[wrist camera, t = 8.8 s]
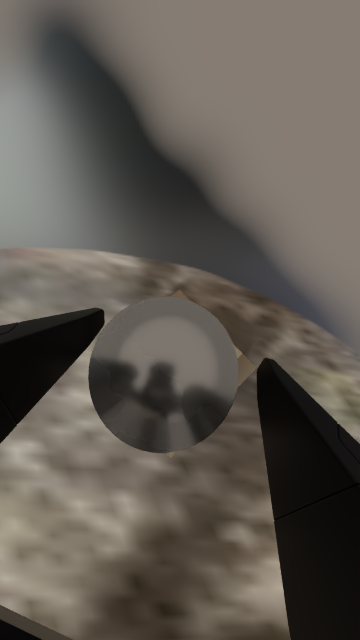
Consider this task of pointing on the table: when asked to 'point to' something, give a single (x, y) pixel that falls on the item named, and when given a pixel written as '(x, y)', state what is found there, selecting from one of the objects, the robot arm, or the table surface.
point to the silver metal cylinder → (163, 374)
